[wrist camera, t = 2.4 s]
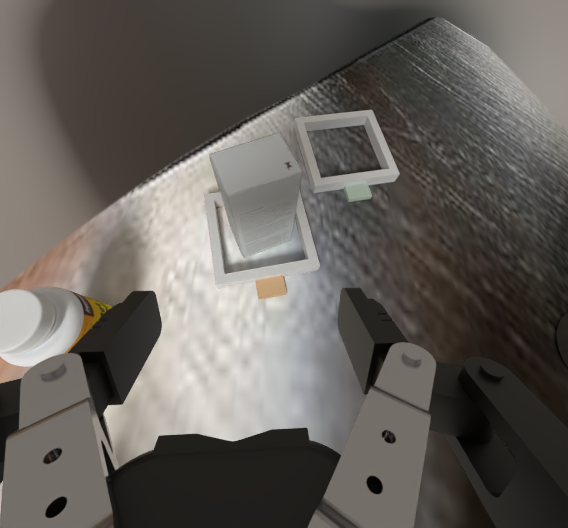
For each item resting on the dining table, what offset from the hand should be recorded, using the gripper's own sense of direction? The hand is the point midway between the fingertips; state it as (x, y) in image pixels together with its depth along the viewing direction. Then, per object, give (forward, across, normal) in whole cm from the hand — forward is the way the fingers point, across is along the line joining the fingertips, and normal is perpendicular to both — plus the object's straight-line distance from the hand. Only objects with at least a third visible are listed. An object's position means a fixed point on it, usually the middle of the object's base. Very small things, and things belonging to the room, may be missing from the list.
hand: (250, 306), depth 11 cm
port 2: (+28, -11, -5) cm, 31 cm away
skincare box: (+20, 0, +3) cm, 20 cm away
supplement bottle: (+12, +15, +11) cm, 22 cm away
